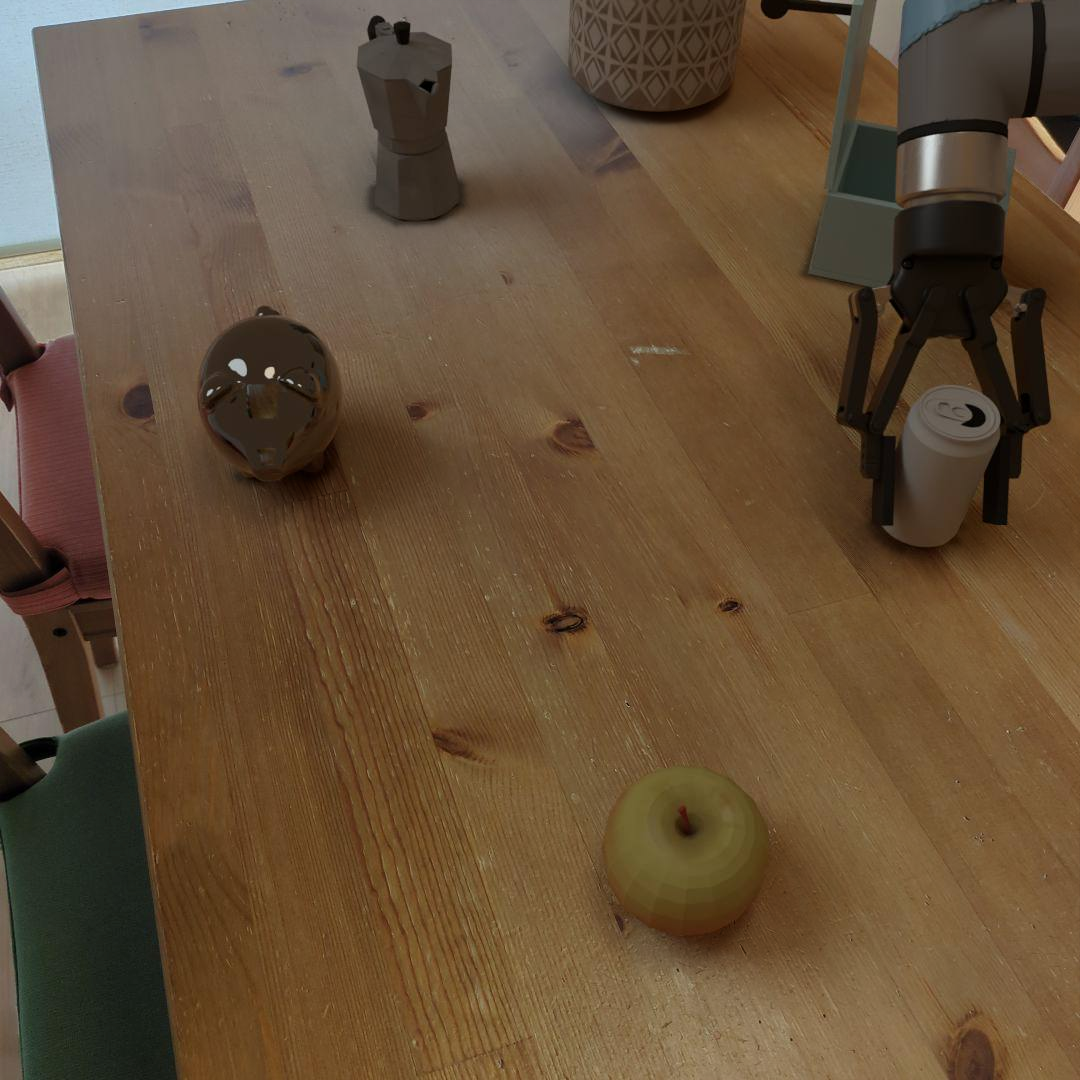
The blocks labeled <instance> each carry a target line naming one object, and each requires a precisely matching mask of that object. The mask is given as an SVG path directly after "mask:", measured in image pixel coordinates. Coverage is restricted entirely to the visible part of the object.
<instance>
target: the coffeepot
mask: <svg viewBox="0 0 1080 1080" xmlns="http://www.w3.org/2000/svg"><path fill="white" fill-rule="evenodd" d="M366 32H367V38H368V41H366V42H365V43H363V44H361V45H359V46H357V56H356V57H357V59H356V70H357V72H358V76H359V80H360V83H361V86H362V90H363V93H364V97H365V101H366V105H367V108H368V111H369V115H370V119H371V122H372V123H371V124H372V126H373V129H374V130H376V131H377V145H376V146H377V147H376V167H375V168H376V171H375V189H374V190H375V192H374V206H375V207H377V208H378V209H379V210H380V211H381V212H383V213H385V214H386V215H388V216H390V217H391V218H394V219H395V218H396V219H397V220H398V219H399V220H404V221H410V222H411V221H415V222H416V221H417V222H418V221H419V222H420V221H427V220H432V219H436V218H438V217H441V216H443V215H445V214H448V212H450V211H451V210H453V209H454V208H455V206H456V205H457V204H459V203H460V182H459V178H458V173H457V170H456V165H455V161H454V156H453V153H452V150H451V145H450V141H449V137H448V132H447V131H446V127H447V126H448V116H449V106H450V105H449V104H450V91H451V82H452V68H453V50H452V49H453V48H452V43H451V42H447V41H445V40H443V39H441V38H438V37H437V36H434V35H432V34H429V33H427V32H426V31H411V22H409V21H407V20H399V21H396V22H394V23H393V25H392V24H391V23H390V22H389V21H387V20H386V19H385V18H384V17H383V16H381V15H378V14H377V15H373V16H372V17H370V20H369V21H368V25H367V27H366Z"/></svg>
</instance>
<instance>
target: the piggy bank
mask: <svg viewBox="0 0 1080 1080" xmlns="http://www.w3.org/2000/svg"><path fill="white" fill-rule="evenodd" d="M195 393H196V395H195V396H196V405H197V412H198V416H199V421H200V423H201V426H202V429H203V431H204V433H205V435H206V437H207V439H208V441H209V442H210V444H211V445H212V447H213V448H214V450H216V452H217V453H218V454H219V455H220V456H221V457H222V458H223V459H224V460H226V461H227V462H228V463H229V464H231V465H233V466H234V467H236V468H238V469H239V472H240V473H241V474H242V475H243V476H244V477H246V478H249V479H252V478H256V479H257V480H259V481H262V482H276V481H280V480H282V479H283V478H285V477H286V476H288V475H291V474H294V473H296V472H298V471H300V470H303V471H304V472H306V473H312V474H313V473H317V472H319V471H320V470H321V469H323V467H324V465H325V456H324V451H325V450H326V449H327V448H328V446H329V445H330V443H331V442H332V440H333V439H334V437H335V434H336V432H337V430H338V427H339V424H340V421H341V417H342V412H343V406H344V386H343V379H342V374H341V371H340V367H339V364H338V362H337V360H336V358H335V355H334V354H333V352H332V350H331V348H330V347H329V345H328V344H327V343H326V341H324V339H323V338H322V337H321V336H320V335H319V334H318V333H317V332H316V331H314V330H313V329H312V328H311V327H309V326H308V325H306V324H304V323H302V322H301V321H298V320H296V319H294V318H291V317H288V316H284V315H282V314H281V313H280V312H279V311H278V310H276V309H274V308H273V307H272V306H269V305H260V306H258V308H256V310H255V312H254V315H252V316H248V317H246V318H243V319H240V320H238V321H236V322H234V323H232V324H230V325H229V326H227V327H226V328H225V329H224V330H222V331H220V333H219V334H218V335H217V336H216V337H215V338H214V339H213V340H212V342H211V343H210V345H209V346H208V347H207V349H206V351H205V353H204V355H203V357H202V359H201V362H200V365H199V369H198V372H197V379H196V392H195Z"/></svg>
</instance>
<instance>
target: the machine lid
mask: <svg viewBox="0 0 1080 1080" xmlns="http://www.w3.org/2000/svg"><path fill="white" fill-rule="evenodd" d="M877 1H878V0H853V3H844V2H843V3H842V2H833V1H832V2H831V1H824V0H823V1H822V0H760V10H761V12H762V14H763V15H764V16H765V18H767V19H770V20H779V19H781V18H783V17H784V16H786V14H787V13H788V11H799V12H808V13H819V14H828V15H838V16H849V17H850V18H849V25H848V30H847V31H848V32H847V37H846V44H845V50H844V56H843V63H842V68H841V75H840V81H839V88H838V94H837V101H836V107H835V114H834V119H833V126H832V132H831V139H830V145H829V151H828V157H827V158H828V159H827V163H826V168H825V169H826V170H825V177H824V183H823V184H824V185H823V189H824V190H827V191H828V190H832V189H833V186H834V183H835V180H836V177H837V174H838V171H839V168H840V165H841V162H842V159H843V156H844V153H845V150H846V147H847V144H848V141H849V137H850V134H851V131H852V128H853V125H854V122H855V120H857V117H858V110H859V105H860V99H861V94H862V88H863V83H864V77H865V71H866V65H867V59H868V53H869V47H870V42H871V37H872V36H871V35H872V31H873V25H874V19H875V13H876V7H877Z"/></svg>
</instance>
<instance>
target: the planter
mask: <svg viewBox="0 0 1080 1080" xmlns="http://www.w3.org/2000/svg"><path fill="white" fill-rule="evenodd" d="M747 1H748V0H569V18H568V21H569V23H568V57H567V58H568V59H567V60H568V62H567V64H568V65H567V66H568V70H569V74H570V75H571V77H572V79H573V81H574V82H575V84H576V85H577V86H578V87H579V88H580V89H581V90H583V91H584V92H585V93H586V94H588V95H590V96H591V97H593V98H595V99H597V100H599V101H601V102H603V103H607V104H609V105H612V106H615V107H618V108H623V109H628V110H634V111H640V112H641V111H642V112H674V111H675V112H676V111H681V110H686V109H691V108H695V107H698V106H703V105H704V104H707V103H709V102H711V101H713V100H715V99H717V98H719V97H720V96H721V95H723V94H724V92H726V91H727V90H728V89H729V88H730V87H731V85H732V84H733V82H734V80H735V77H736V73H737V68H738V60H739V54H740V47H741V41H742V33H743V28H744V21H745V20H744V19H745V14H746V13H745V12H746V7H747Z"/></svg>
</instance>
